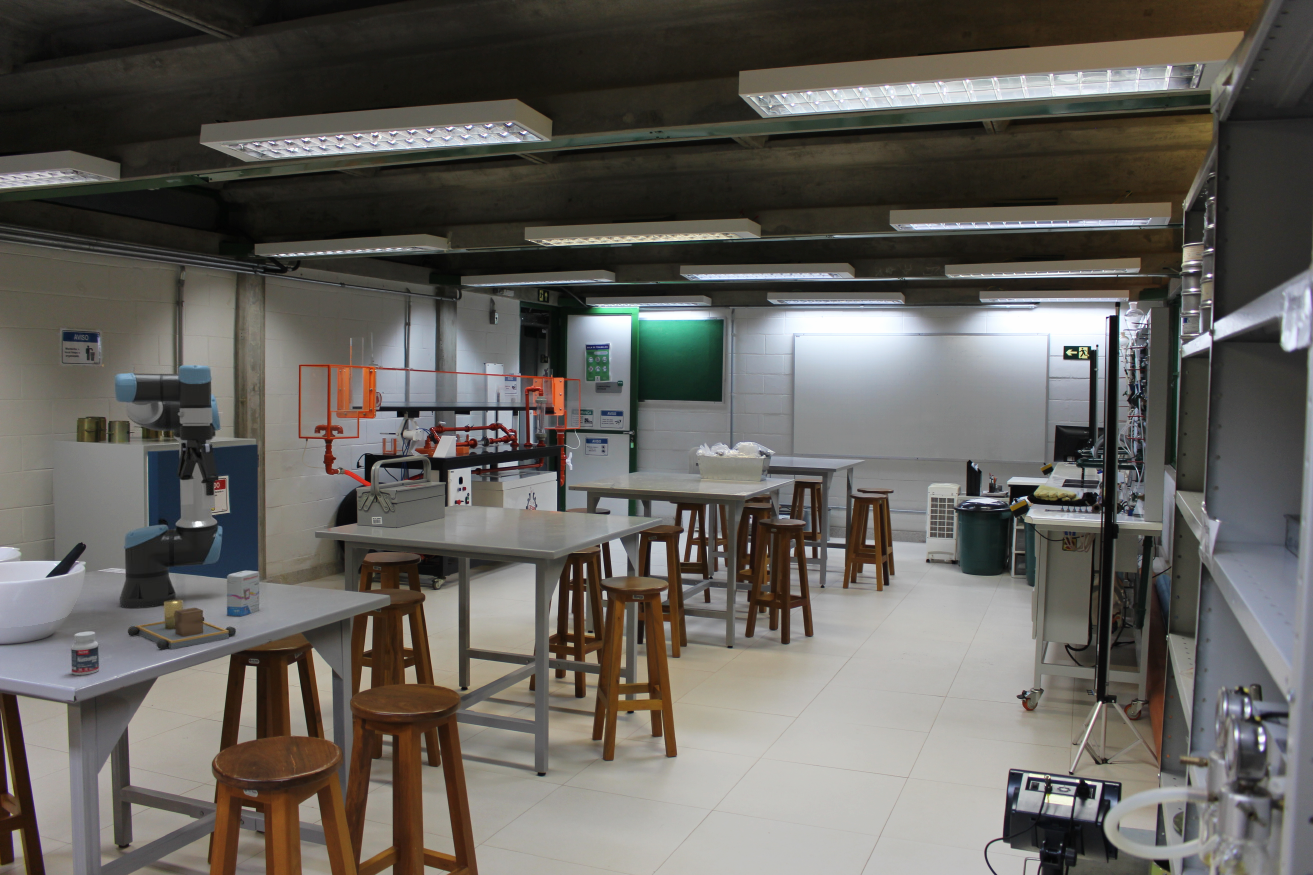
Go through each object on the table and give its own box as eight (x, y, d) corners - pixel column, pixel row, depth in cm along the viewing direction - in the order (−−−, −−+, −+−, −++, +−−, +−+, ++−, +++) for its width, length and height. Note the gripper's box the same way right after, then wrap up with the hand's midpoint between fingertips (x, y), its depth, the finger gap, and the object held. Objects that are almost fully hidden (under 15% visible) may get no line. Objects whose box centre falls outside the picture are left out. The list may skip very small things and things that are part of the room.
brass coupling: (162, 627, 242) (161, 601, 242) (179, 624, 245) (178, 598, 245) (168, 629, 239) (167, 603, 239) (186, 626, 243) (185, 600, 242)
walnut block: (175, 633, 236) (174, 610, 236) (195, 629, 240) (194, 607, 239) (182, 636, 232) (182, 613, 232) (203, 632, 236) (202, 610, 236)
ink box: (241, 616, 261) (240, 575, 260) (226, 615, 262) (225, 575, 261) (260, 610, 269) (259, 570, 269) (245, 609, 270) (244, 569, 270)
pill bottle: (75, 676, 204) (74, 637, 203) (68, 672, 207) (67, 633, 207) (102, 671, 208) (101, 633, 207) (94, 667, 211) (93, 629, 211)
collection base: (125, 635, 240) (125, 626, 240) (200, 621, 255) (200, 613, 254) (160, 651, 224) (160, 641, 224) (238, 636, 239) (238, 627, 238)
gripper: (162, 424, 242) (164, 503, 243) (200, 425, 225) (202, 511, 226) (191, 423, 247) (193, 501, 248) (231, 425, 231) (233, 508, 232)
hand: (198, 506), depth 237 cm, fingers open, 13 cm apart
